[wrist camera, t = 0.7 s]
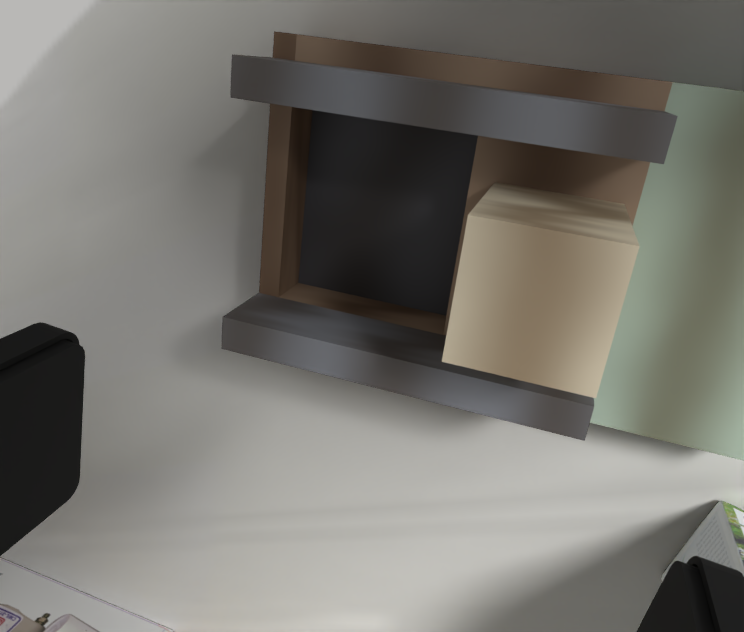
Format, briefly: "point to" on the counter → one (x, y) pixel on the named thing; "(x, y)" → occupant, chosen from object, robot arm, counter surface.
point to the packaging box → (58, 607)
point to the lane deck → (449, 217)
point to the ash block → (541, 287)
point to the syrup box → (717, 539)
